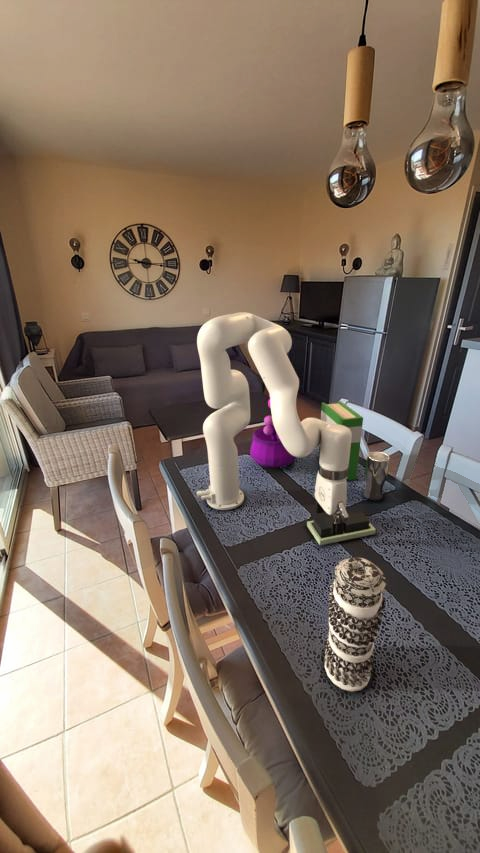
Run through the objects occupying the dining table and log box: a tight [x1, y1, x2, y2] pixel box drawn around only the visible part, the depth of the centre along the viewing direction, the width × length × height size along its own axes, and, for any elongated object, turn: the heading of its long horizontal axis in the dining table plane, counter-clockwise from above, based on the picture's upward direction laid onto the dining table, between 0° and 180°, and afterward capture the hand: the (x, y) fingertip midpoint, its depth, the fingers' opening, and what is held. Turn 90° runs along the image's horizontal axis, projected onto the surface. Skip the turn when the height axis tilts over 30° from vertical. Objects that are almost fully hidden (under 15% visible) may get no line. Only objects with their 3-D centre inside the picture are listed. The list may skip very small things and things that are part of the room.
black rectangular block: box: [312, 515, 344, 539], centre depth 103 cm, size 7×5×4 cm
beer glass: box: [363, 451, 390, 501], centre depth 118 cm, size 7×7×15 cm
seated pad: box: [338, 510, 370, 533], centre depth 105 cm, size 7×5×4 cm
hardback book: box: [317, 400, 364, 481], centre depth 133 cm, size 18×7×24 cm, turn 11°
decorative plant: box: [249, 394, 298, 469], centre depth 138 cm, size 19×18×30 cm
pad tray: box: [306, 515, 377, 546], centre depth 105 cm, size 17×9×2 cm, turn 104°
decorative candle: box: [324, 556, 387, 692], centre depth 64 cm, size 9×9×25 cm
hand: (328, 522), depth 103 cm, fingers open, 9 cm apart
